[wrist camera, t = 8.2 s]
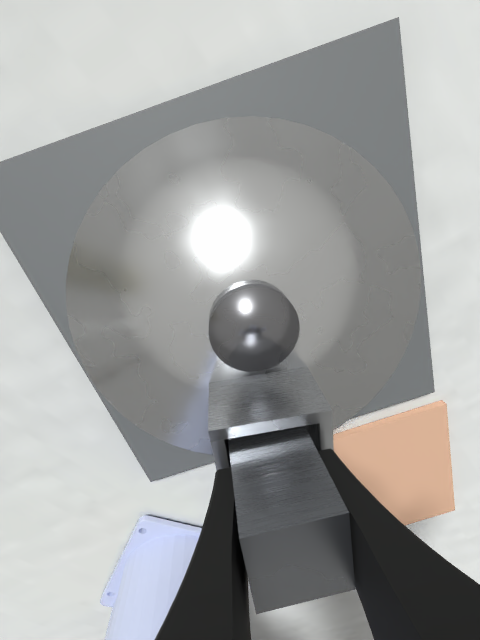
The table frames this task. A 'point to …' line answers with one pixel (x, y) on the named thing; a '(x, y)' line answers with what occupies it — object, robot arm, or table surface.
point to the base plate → (206, 105)
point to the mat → (403, 461)
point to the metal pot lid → (243, 284)
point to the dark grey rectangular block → (289, 520)
